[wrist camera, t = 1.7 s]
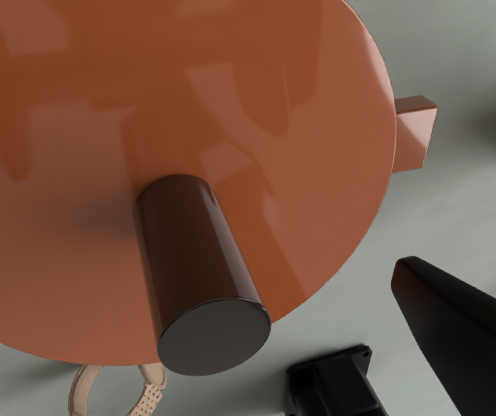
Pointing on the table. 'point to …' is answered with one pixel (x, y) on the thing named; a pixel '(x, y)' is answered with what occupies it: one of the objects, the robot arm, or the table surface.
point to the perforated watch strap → (150, 396)
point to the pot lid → (181, 172)
